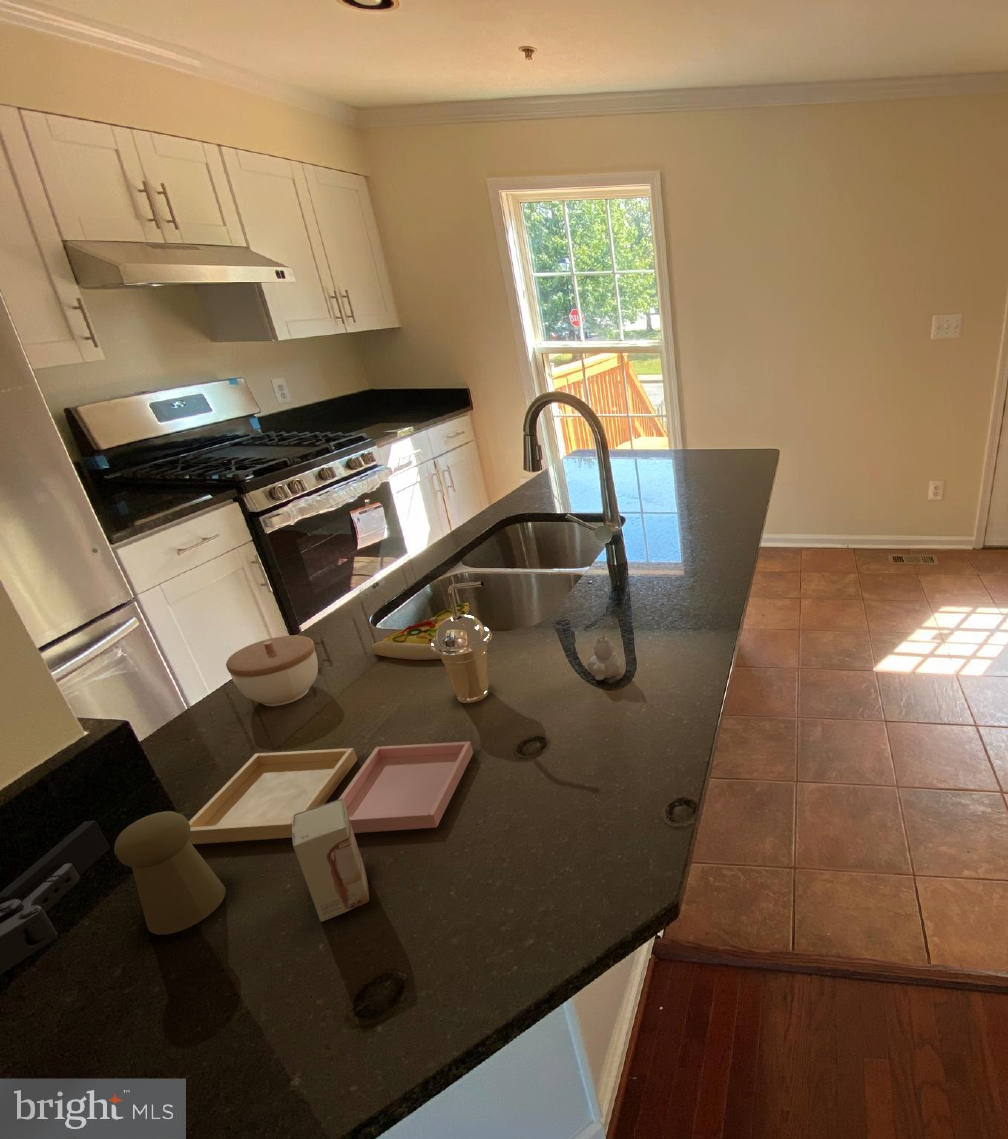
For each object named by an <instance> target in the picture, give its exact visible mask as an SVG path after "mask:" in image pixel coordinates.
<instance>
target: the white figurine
mask: <svg viewBox="0 0 1008 1139" xmlns="http://www.w3.org/2000/svg"><path fill="white" fill-rule="evenodd" d="M593 652H594V655H593V656H591V657H590V659H589V660H588V662H587V669H588V670H587V671H588V672H589V673H590V674H593V676H594V678H595V680H596V681H602V680H604V679H612V678H614V677H616V676H618V675H619V674H620V672H621V671H622V668H623V662H622V659H621V658H620V657H619V654H618V653H616V652H615V646H614V644H613V642H612V641H610V639H609V638H606V635H605V632H602V636H601V638H600V637H598V638H597V639H596V642H595V644H594V646H593Z"/></svg>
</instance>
